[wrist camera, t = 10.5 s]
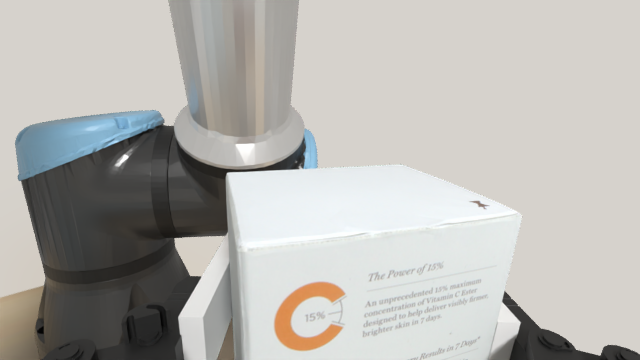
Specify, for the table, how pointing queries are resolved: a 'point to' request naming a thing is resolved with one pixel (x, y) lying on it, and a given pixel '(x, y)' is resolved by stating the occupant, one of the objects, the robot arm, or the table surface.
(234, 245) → the small box
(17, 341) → the table surface
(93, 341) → the robot arm
